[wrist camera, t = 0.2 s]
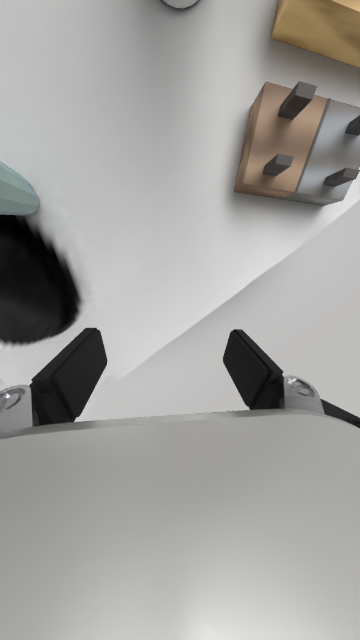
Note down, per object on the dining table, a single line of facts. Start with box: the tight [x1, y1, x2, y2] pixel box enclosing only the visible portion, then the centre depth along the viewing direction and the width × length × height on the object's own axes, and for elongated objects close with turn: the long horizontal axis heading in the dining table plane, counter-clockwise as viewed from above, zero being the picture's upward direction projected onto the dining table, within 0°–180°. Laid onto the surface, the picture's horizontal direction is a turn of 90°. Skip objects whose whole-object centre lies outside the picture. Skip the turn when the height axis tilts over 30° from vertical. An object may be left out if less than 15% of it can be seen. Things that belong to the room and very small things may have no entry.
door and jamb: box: [234, 81, 360, 206], centre depth 25 cm, size 12×24×8 cm, turn 85°
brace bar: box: [271, 0, 360, 68], centre depth 20 cm, size 4×22×5 cm, turn 85°
